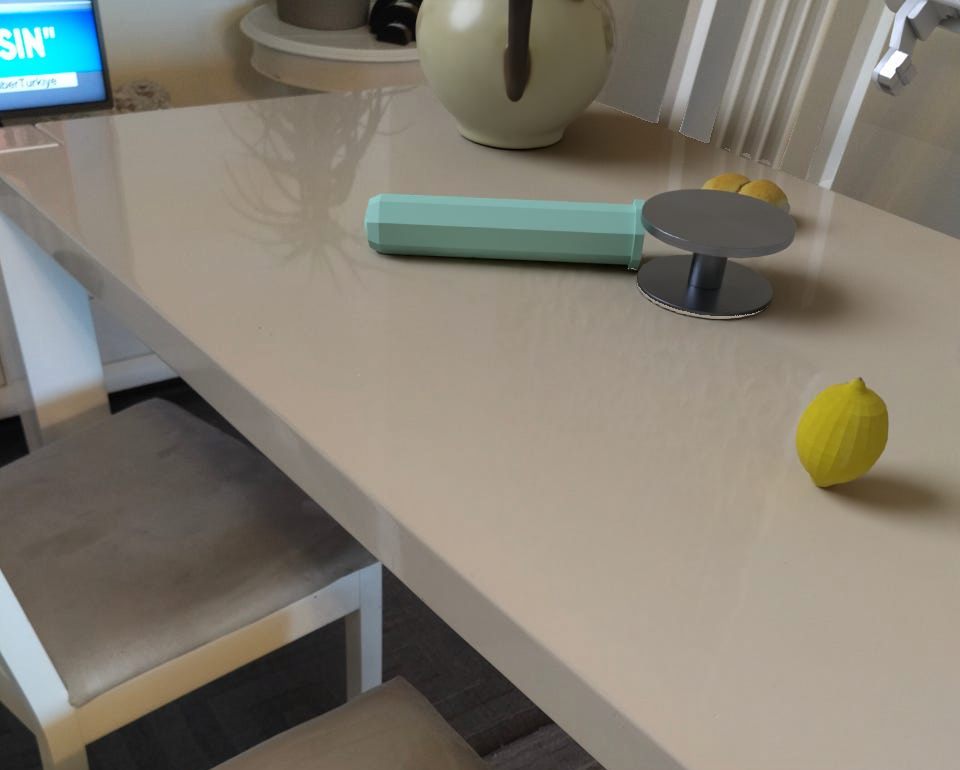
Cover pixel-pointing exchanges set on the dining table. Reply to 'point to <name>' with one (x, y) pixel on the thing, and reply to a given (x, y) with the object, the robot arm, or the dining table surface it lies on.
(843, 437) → the fruit
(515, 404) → the dining table surface
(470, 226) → the container
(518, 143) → the pitcher
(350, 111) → the dining table surface
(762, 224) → the stand
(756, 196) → the bread roll
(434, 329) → the dining table surface
